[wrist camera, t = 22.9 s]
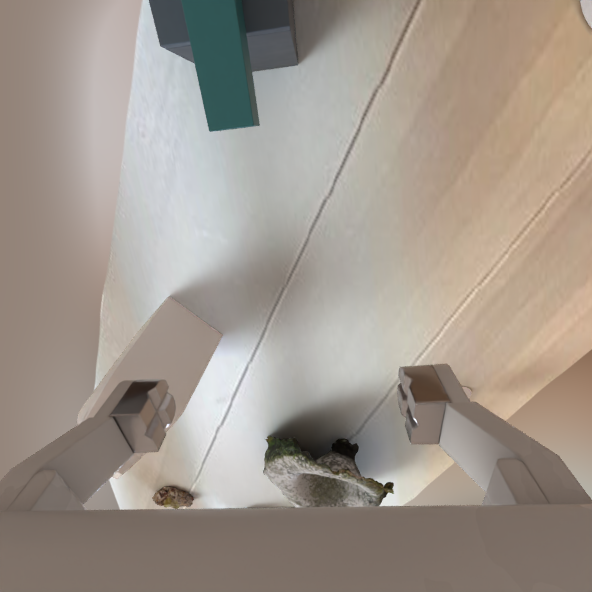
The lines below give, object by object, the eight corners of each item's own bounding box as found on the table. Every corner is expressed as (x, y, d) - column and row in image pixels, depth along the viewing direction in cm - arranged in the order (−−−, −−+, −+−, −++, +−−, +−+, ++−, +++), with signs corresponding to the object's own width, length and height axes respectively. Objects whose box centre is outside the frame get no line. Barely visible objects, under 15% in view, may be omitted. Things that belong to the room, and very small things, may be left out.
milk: (136, 333, 59) (28, 463, 37) (169, 295, 55) (69, 417, 32) (188, 367, 63) (120, 505, 40) (222, 335, 59) (167, 469, 36)
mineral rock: (152, 509, 86) (148, 503, 80) (158, 491, 89) (154, 484, 84) (191, 513, 87) (190, 508, 81) (196, 495, 90) (195, 488, 85)
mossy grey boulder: (412, 436, 59) (417, 533, 50) (377, 462, 83) (375, 532, 74) (263, 407, 62) (242, 495, 53) (270, 441, 86) (256, 506, 77)
